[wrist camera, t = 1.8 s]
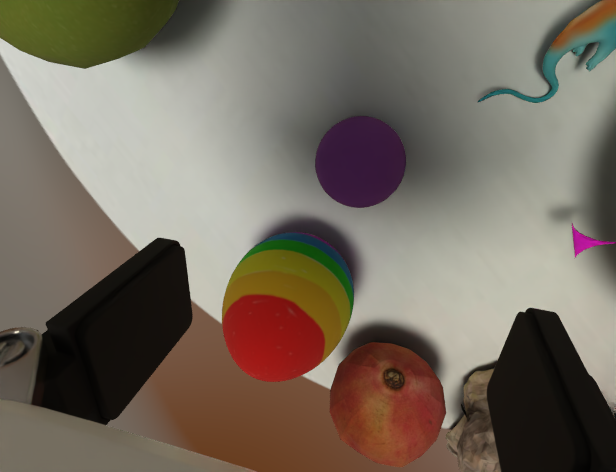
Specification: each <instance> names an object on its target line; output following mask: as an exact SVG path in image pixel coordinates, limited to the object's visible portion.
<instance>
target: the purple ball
mask: <svg viewBox="0 0 616 472" xmlns="http://www.w3.org/2000/svg"><path fill="white" fill-rule="evenodd" d="M405 167H406V155H405V149H404V146H403V143H402V141H401V139H400V137H399V136H398V134H397V133H396V132H395V131H394V129H393V128H391V127H390V126H389V125H388V124H386V123H385V122H383V121H381V120H379V119H376V118H373V117H368V116H356V117H351V118H347V119H345V120H342V121H340V122H339V123H337V124H336V125H334V126H333V127H332V128H331V129H329V130H328V131H327V133H326V134H325V135H324V137H323V138H322V140H321V142H320V144H319V146H318V149H317V153H316V159H315V168H316V173H317V177H318V180H319V182H320V184H321V186H322V188H323V189H324V191H325V192H326V193H327V194H328V195H329V196H330V197H331V198H332V199H334V200H335V201H337V202H339V203H341V204H343V205H346V206H349V207H356V208H364V207H370V206H373V205H376V204H378V203H380V202H382V201H384V200H386V199H387V198H388V197H389V196H390V195H392V194H393V193H394V191H395V190H396V189H397V188H398V186H399V184H400V183H401V181H402V178H403V176H404V172H405Z"/></svg>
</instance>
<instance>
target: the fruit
mask: <svg viewBox="0 0 616 472" xmlns="http://www.w3.org/2000/svg"><path fill="white" fill-rule="evenodd" d="M330 414H331V416H332V419H333V422H334V424H335V427H336V429H337V432H338V434H339V437H340V439H341V440H342V441H344V442H345V443H346V444H348V445H349V446H350V447H352V448H353V449H355V450H356V451H357V452H359V453H360V454H362V455H364V456H366V457H367V458H369V459H371V460H372V461H374V462H376V463H379V464H384V465H390V466H395V467H403V466H405V465H407V464H408V463H410V462H412V461H414V460H415V459H417V458H419V457H420V456H422V455H423V454H424V453H425V452H426V451H427V450H428V449H429V448H430V446H431V445H432V444H433V443H434V442H435V441H436V440H437V437H438V435H439V432H440V429H441V426H442V423H443V420H444V417H445V414H446V408H445V400H444V393H443V387H442V385H441V382H440V380H439V379H438V377H437V376H436V375H435V373H434V372H433V370H432V369H431V368H430V366H429V365H428V363H427V362H426V361H424V360H423V359H422V358H420V357H419V356H418V355H417V354H415V353H414V352H413V351H411V350H410V349H407V348H404V347H401V346H398V345H395V344H392V343H378V342H370V343H368V344H366V345H363V346H361V347H359V348H357V349H354V350H353V351H352V352H351V353H350V354H349V355H348V356H347V357H346V358H345V359H344V360H343V361H342V362H341V363H340V364H339V366H338V369H337V372H336V375H335V378H334V381H333V384H332V387H331V390H330Z"/></svg>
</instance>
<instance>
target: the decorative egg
mask: <svg viewBox="0 0 616 472" xmlns="http://www.w3.org/2000/svg"><path fill="white" fill-rule="evenodd" d="M353 302H354V288H353V281H352V277H351V274H350V271H349V269H348V266H347V264H346V262H345V261H344V259H343V257H342V256H341V255H340V253H339V252H338V251H337V250H336V249H335V248H334V247H333V246H332V245H330V244H329V243H328V242H326V241H325V240H323V239H321V238H319V237H317V236H314V235H311V234H307V233H301V232H289V233H282V234H278V235H275V236H272V237H270V238H267V239H266V240H264V241H262V242H260V243H259V244H258V245H256V246H255V247H254V248H252V249H251V250H250V251H249V252H248V253H247V254H246V255H245V256H244V257H243V259H242V260H241V261H240V262H239V264H238V265H237V267H236V269H235V270H234V272H233V274H232V276H231V278H230V280H229V283H228V286H227V289H226V292H225V296H224V301H223V308H222V326H223V333H224V337H225V341H226V345H227V347H228V350H229V352H230V354H231V356H232V358H233V360H234V361H235V362H236V364H237V365H238V366H239V367H240V368H241V369H242V370H243V371H244V372H245V373H247V374H248V375H250V376H252V377H253V378H256V379H258V380H262V381H268V382H280V381H286V380H290V379H293V378H296V377H298V376H301V375H303V374H305V373H307V372H309V371H310V370H312V369H314V368H315V367H316V366H318V365H319V364H320V363H321V362H323V361H324V360H325V359H326V358H327V357H328V356H329V355H330V353H331V352H332V351H333V350H334V349H335V348H336V346H337V345H338V343H339V342H340V340H341V338H342V337H343V335H344V333H345V331H346V329H347V326H348V324H349V321H350V318H351V314H352V310H353Z"/></svg>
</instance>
